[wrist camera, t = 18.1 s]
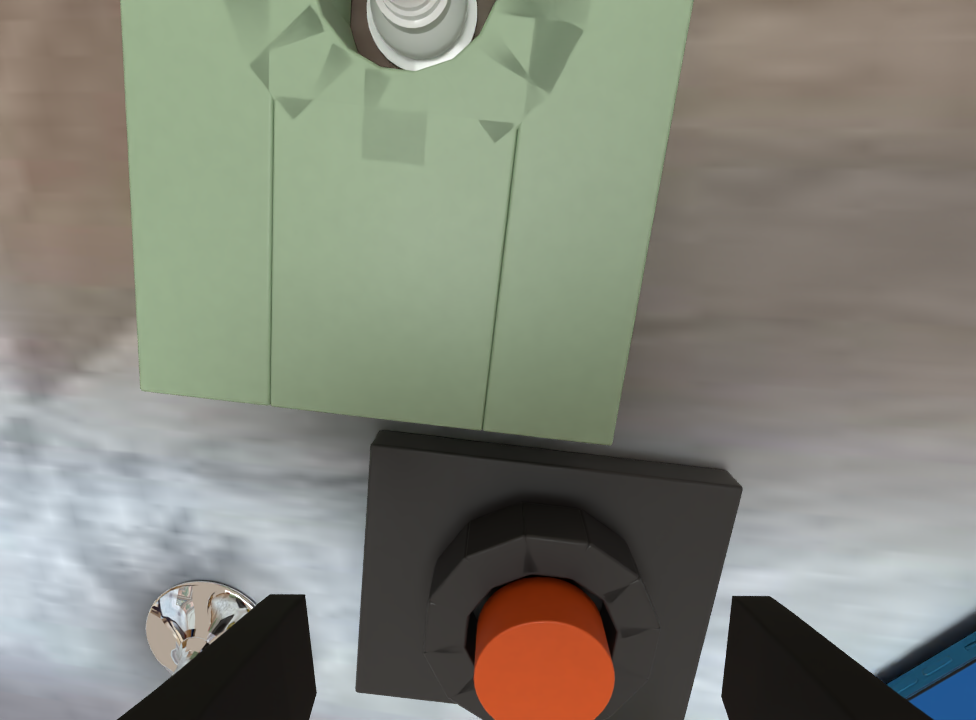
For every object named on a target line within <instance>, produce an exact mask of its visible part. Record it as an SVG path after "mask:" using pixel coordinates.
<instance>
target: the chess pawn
mask: <svg viewBox="0 0 976 720" xmlns="http://www.w3.org/2000/svg"><path fill="white" fill-rule="evenodd" d="M367 19H368V24H369V29H370V32H371V34H372V37H373V39H374V41H375V43H376V45H377V46H378V48H379V50H380V51H381V52H382V53H383V54H384V56H385V57H386V58H387V59H388V60H389V61H391V62H392V63H393V64H395V65H396V66H397V67H399V68H401V69H404V70H411V71H417V70H420V69H423V68H426V67H429V66H432V65H436V64H439V63H442V62H445V61H448V60H451V59H453V58H454V57H455V56H456V55H457V54H458V53H459V52H461V51H462V50H463V49H464V48H465V47H466V46H467V45H468V44H469V43H470V42H471V40H472V38H473V35H474V33H475V28H476V23H477V2H476V0H367Z"/></svg>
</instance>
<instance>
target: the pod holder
mask: <svg viewBox="0 0 976 720" xmlns="http://www.w3.org/2000/svg"><path fill="white" fill-rule="evenodd" d="M693 2H694V0H496V1H495V3H494V5H493V7H492V10H491V12H490V14H489V16H488V18H487V20H486V22H485V24H484V26H483V28H482V30H481V32H480V34H479V35H478V36H477V37H476V38H475V39H474V40H473V41H472V42H470V43H469V44H468V45H467V46H466V47H465V48H464V49H463V50H462V51H461V52H459V53H458V54H457V55H456V56H455V57H454V58H453V59H451V60H448V61H445V62H442V63H439V64H436V65H432V66H429V67H426V68H423V69H420V70H417V71H411V70H402V69H394V68H385V67H380V66H378V65H377V64H375V63H373V62H372V61H370V60H368V59H367V58H365V57H363V56H361V55H360V54H358V51H357V48H356V45H355V42H354V38H353V35H352V32H351V29H350V19H351V0H120V5H121V24H122V44H123V63H124V83H125V102H126V121H127V141H128V160H129V180H130V199H131V218H132V238H133V257H134V276H135V296H136V315H137V335H138V354H139V373H140V389H141V390H142V391H146V392H155V393H163V394H172V395H181V396H189V397H198V398H206V399H215V400H223V401H232V402H241V403H249V404H258V405H266V406H267V405H270V404H271V406H273V407H282V408H291V409H299V410H308V411H316V412H325V413H333V414H342V415H351V416H359V417H368V418H376V419H385V420H394V421H402V422H411V423H419V424H428V425H436V426H445V427H454V428H462V429H471V430H481V429H482V427H483V430H484V431H489V432H497V433H506V434H515V435H523V436H532V437H540V438H549V439H557V440H566V441H575V442H583V443H592V444H600V445H611V444H612V442H613V437H614V432H615V426H616V421H617V415H618V410H619V404H620V399H621V393H622V388H623V383H624V377H625V372H626V366H627V361H628V355H629V350H630V345H631V339H632V334H633V328H634V323H635V317H636V312H637V306H638V301H639V296H640V290H641V285H642V279H643V274H644V268H645V263H646V257H647V252H648V247H649V241H650V236H651V230H652V225H653V219H654V214H655V208H656V203H657V198H658V192H659V187H660V181H661V176H662V170H663V165H664V160H665V154H666V149H667V143H668V138H669V132H670V127H671V121H672V116H673V111H674V105H675V100H676V94H677V89H678V83H679V78H680V72H681V67H682V62H683V56H684V51H685V45H686V40H687V34H688V29H689V24H690V18H691V13H692V7H693Z"/></svg>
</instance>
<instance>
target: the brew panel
mask: <svg viewBox="0 0 976 720" xmlns="http://www.w3.org/2000/svg"><path fill="white" fill-rule="evenodd" d="M741 494H742V486H741V485H740V484H739V483H738V482H737V481H736V480H735V479H734V478H733V477H732V476H731V474H730V473H729V472H728V471H726V470H718V469H709V468H701V467H692V466H684V465H675V464H667V463H658V462H649V461H641V460H632V459H624V458H615V457H606V456H598V455H589V454H581V453H572V452H564V451H555V450H546V449H538V448H529V447H521V446H512V445H503V444H495V443H486V442H478V441H469V440H461V439H452V438H443V437H435V436H426V435H418V434H409V433H400V432H392V431H383V430H381V431H379V433H378V434H377V436H376V438H375V439H374V441H373V442H372V444H371V448H370V464H369V480H368V496H367V512H366V528H365V544H364V560H363V576H362V592H361V608H360V624H359V640H358V656H357V671H356V687H355V689H356V692H358V693H367V694H375V695H384V696H393V697H401V698H410V699H418V700H427V701H435V702H444V703H453V704H458V705H460V706H461V707H463V708H465V709H466V710H468V711H469V712H471V713H473V714H474V715H476V716H477V717H479V718H481V719H482V720H495V719H494V718H493V717H492V716H490V715H489V713H488V712H487V711H486V710H485V709H484V707H483V706H482V704H481V703H480V701H479V698H478V696H477V694H476V690H475V687H474V664H475V649H476V634H477V622H478V618H479V615H480V612H481V610H482V608H483V606H484V604H485V603H486V602H487V600H488V599H489V598H490V597H491V596H492V595H493V594H494V593H495V592H496V591H497V590H499V589H500V588H501V587H503V586H505V585H507V584H509V583H511V582H513V581H516V580H519V579H523V578H528V577H538V576H541V577H552V578H557V579H560V580H564V581H566V582H569V583H571V584H573V585H575V586H576V587H578V588H579V589H581V590H582V591H583V592H585V593H586V594H587V595H588V596H589V597H590V598H591V600H592V601H593V602H594V604H595V605H596V607H597V609H598V611H599V613H600V616H601V619H602V623H603V627H604V631H605V635H606V639H607V643H608V647H609V650H610V654H611V658H612V662H613V667H614V672H615V682H614V689H613V692H612V696H611V698H610V700H609V702H608V704H607V705H606V707H605V708H604V710H603V711H602V712H601V713H600V714H599V716H597V717H596V718H595V719H594V720H684V717H685V713H686V710H687V706H688V702H689V698H690V694H691V690H692V686H693V682H694V678H695V674H696V670H697V666H698V662H699V659H700V655H701V651H702V647H703V643H704V639H705V635H706V631H707V627H708V623H709V619H710V615H711V612H712V608H713V604H714V600H715V596H716V592H717V588H718V584H719V580H720V576H721V572H722V568H723V564H724V561H725V557H726V553H727V549H728V545H729V541H730V537H731V533H732V529H733V525H734V521H735V517H736V514H737V510H738V506H739V502H740V498H741Z"/></svg>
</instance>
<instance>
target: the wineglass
mask: <svg viewBox="0 0 976 720" xmlns="http://www.w3.org/2000/svg"><path fill="white" fill-rule="evenodd" d="M255 606H256V605H255V604H254V603H253V602H252V601H251V600H250V599H249V598H248V597H246V596H245V595H243V594H242V593H240V592H238V591H237V590H235V589H233V588H230V587H228V586H225V585H222V584H219V583H215V582H208V581H191V582H185V583H181V584H178V585H176V586H173V587H171V588H169V589H168V590H166V591H165V592H163V593H162V594H161V595H160V596H159V597H158V598H157V599H156V600H155V601H154V602H153V604H152V606H151V608H150V610H149V612H148V615H147V618H146V624H145V632H146V638H147V642H148V645H149V647H150V649H151V651H152V653H153V655H154V656H155V658H156V659H157V660H158V662H159V663H160V664H161V665H162V666H163V667H164V668H165V669H166V670H167V671H169V672H170V673H171V674H172V675H171V676H173V675H174V674H175V673H176V672H177V671H179V670H180V669H181V668H182V667H183V666H185V665H186V664H187V663H188V662H190V661H191V660H192V659H193V658H194V657H196V656H197V655H198V654H199V653H200V652H202V651H203V650H204V649H205V648H206V647H208V646H209V645H210V644H211V643H212V642H213V641H215V640H216V639H217V638H218V637H219V636H220V635H222V634H223V633H224V632H225V631H226V630H228V629H229V628H230V627H231V626H232V625H233V624H235V623H236V622H237V621H238V620H239V619H240V618H242V617H243V616H244V615H245V614H246V613H248V612H249V611H250V610H251V609H252V608H254V607H255Z"/></svg>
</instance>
